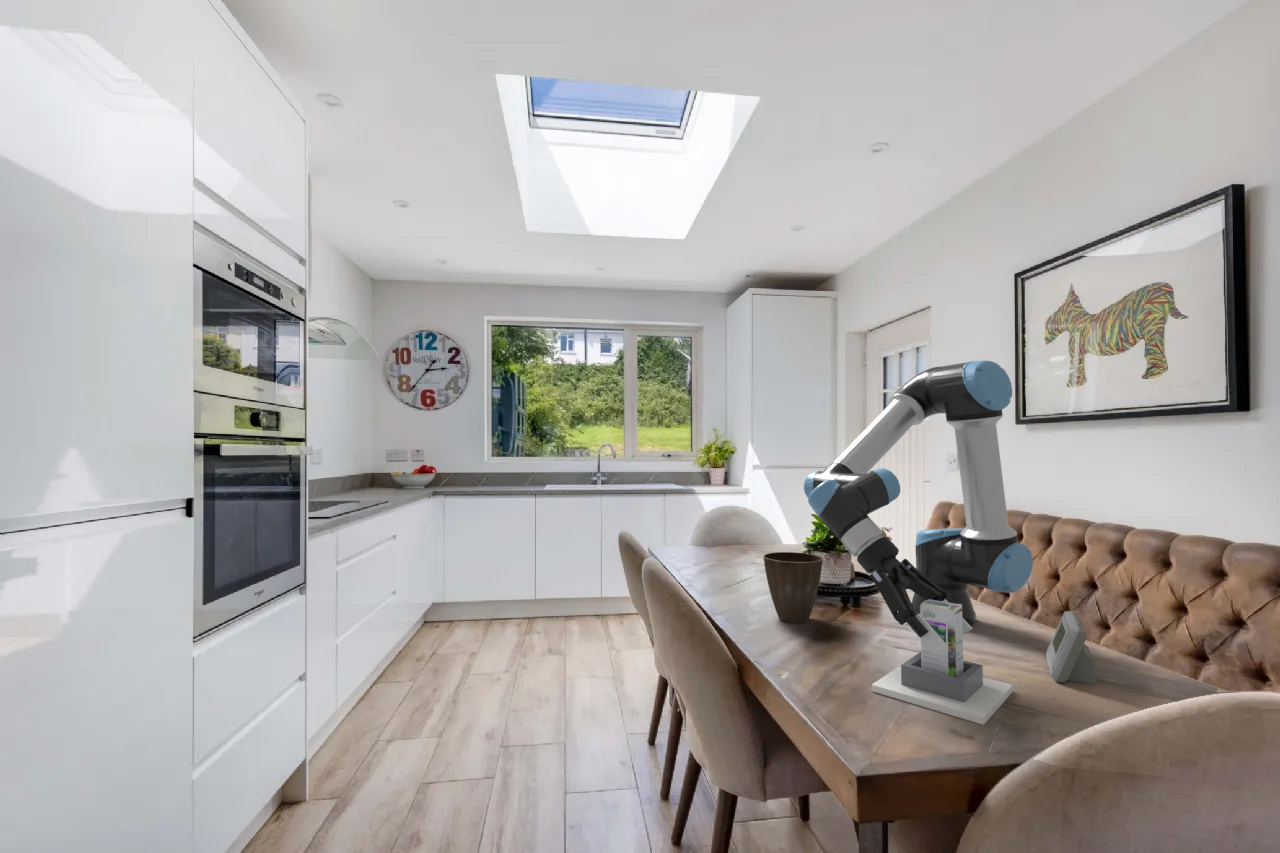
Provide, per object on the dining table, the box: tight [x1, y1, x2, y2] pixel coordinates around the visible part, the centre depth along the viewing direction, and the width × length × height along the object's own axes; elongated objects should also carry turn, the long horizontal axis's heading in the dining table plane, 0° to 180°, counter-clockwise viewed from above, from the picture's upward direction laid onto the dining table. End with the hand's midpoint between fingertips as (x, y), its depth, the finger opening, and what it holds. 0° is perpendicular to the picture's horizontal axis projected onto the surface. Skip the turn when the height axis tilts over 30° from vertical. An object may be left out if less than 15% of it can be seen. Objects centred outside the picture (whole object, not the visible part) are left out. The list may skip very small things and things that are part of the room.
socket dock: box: [871, 651, 1014, 726], centre depth 104 cm, size 18×18×5 cm
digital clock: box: [1045, 610, 1097, 685], centre depth 113 cm, size 16×9×11 cm, turn 137°
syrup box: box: [920, 599, 964, 677], centre depth 105 cm, size 6×6×14 cm
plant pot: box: [762, 551, 824, 624], centre depth 149 cm, size 15×15×16 cm
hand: (954, 641), depth 103 cm, fingers open, 13 cm apart
